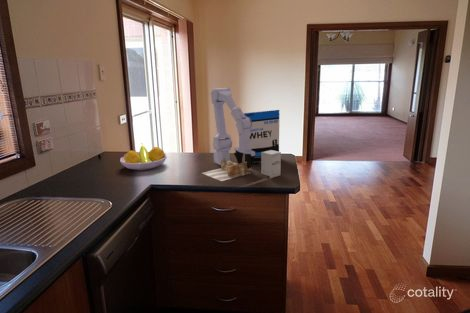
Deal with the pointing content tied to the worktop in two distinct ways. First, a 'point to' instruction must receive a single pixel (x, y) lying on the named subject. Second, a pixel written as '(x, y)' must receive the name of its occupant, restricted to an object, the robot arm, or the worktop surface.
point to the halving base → (225, 171)
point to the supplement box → (271, 163)
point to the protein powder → (263, 133)
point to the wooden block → (236, 168)
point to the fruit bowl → (144, 158)
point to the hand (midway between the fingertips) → (244, 166)
